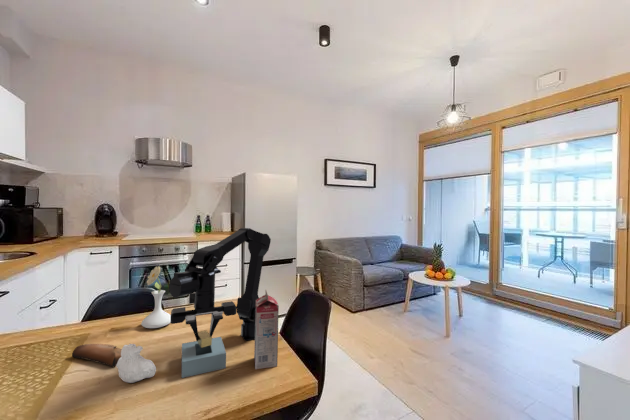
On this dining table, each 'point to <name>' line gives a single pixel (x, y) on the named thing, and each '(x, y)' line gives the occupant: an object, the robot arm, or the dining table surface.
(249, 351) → the dining table surface
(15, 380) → the dining table surface
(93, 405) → the dining table surface
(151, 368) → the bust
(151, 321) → the flower in vase
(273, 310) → the juice carton
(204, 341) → the tan wooden post
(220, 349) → the blue-grey hollow frame
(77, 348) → the sunglasses case
